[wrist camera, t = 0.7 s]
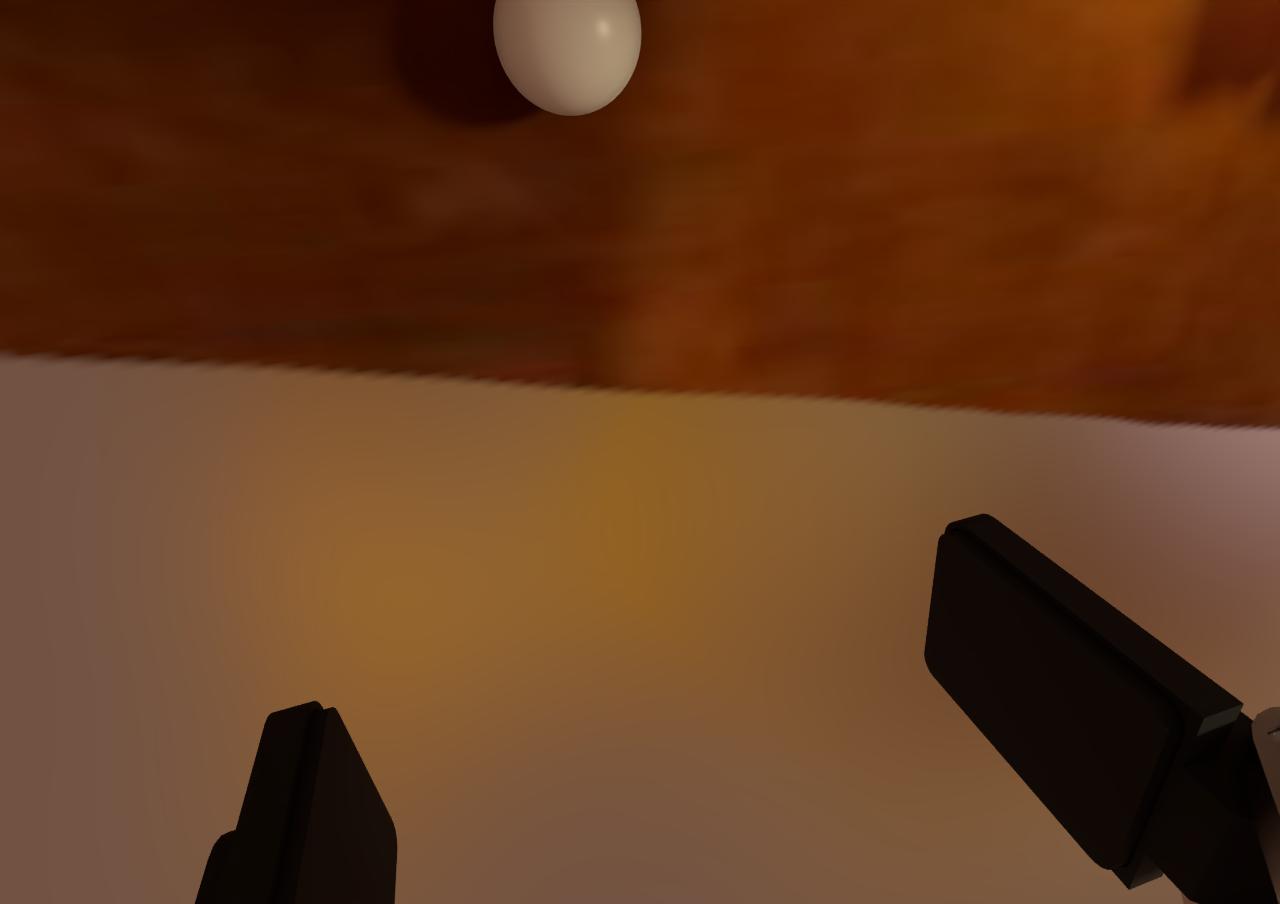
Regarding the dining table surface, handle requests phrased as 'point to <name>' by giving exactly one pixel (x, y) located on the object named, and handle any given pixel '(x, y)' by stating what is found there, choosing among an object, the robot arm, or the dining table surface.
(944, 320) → the dining table surface
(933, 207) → the dining table surface
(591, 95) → the cue ball
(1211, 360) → the dining table surface
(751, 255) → the dining table surface
